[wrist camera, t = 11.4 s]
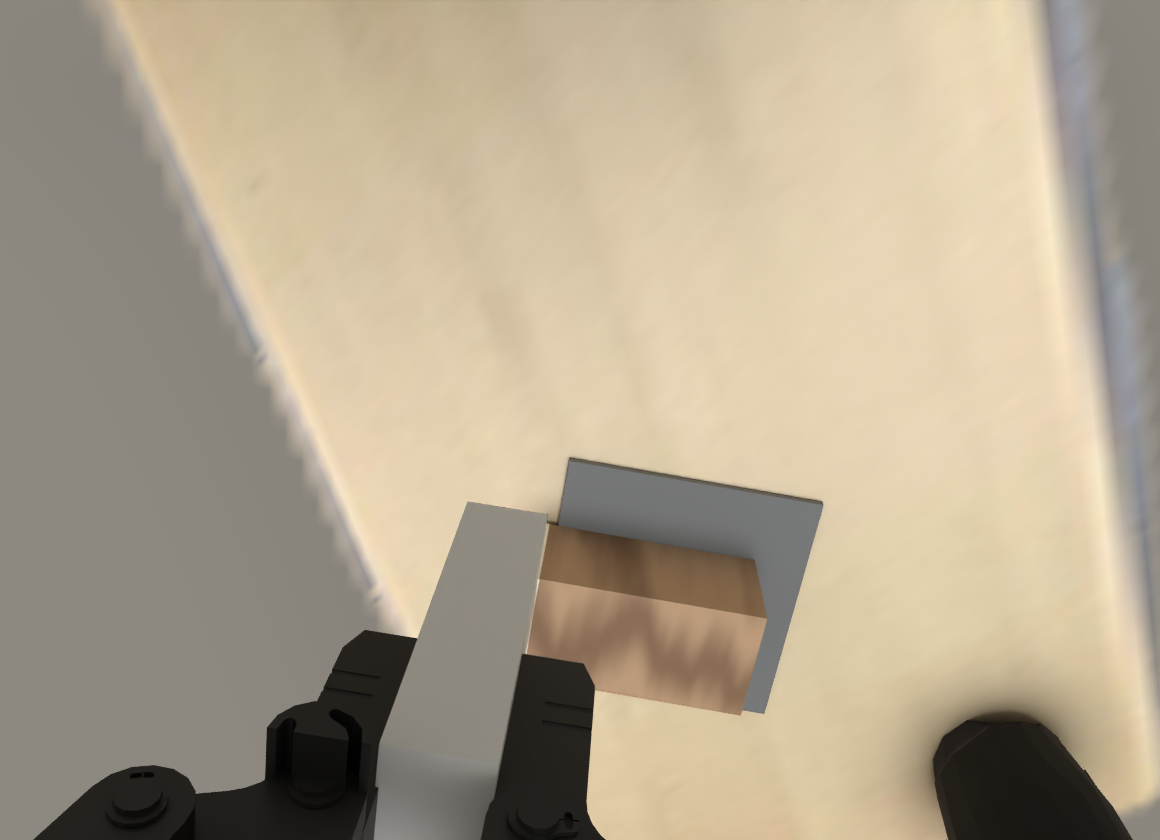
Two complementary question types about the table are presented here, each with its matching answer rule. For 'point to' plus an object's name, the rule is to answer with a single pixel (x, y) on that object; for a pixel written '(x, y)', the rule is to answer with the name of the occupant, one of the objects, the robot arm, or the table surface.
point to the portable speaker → (1018, 787)
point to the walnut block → (649, 617)
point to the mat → (705, 535)
